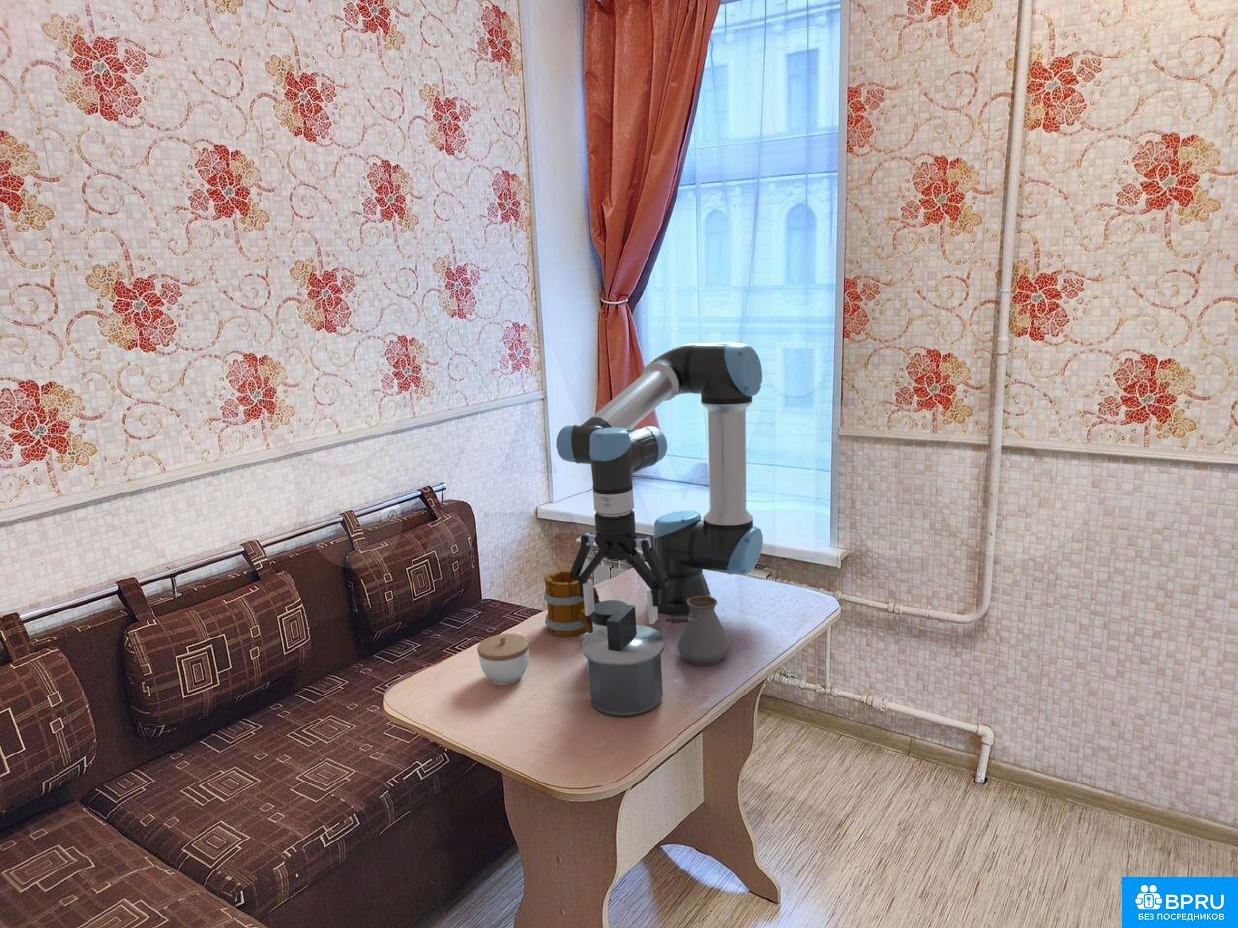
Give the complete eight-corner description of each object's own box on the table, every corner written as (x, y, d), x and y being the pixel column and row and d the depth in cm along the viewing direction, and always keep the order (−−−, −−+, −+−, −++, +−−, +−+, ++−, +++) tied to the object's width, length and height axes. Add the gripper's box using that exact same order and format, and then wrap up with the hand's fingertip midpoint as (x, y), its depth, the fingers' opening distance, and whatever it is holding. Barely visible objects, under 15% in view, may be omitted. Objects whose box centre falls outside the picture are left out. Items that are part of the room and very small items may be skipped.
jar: (606, 671, 175) (602, 618, 172) (586, 657, 182) (582, 607, 179) (640, 658, 180) (637, 607, 177) (619, 645, 187) (616, 596, 184)
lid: (603, 630, 172) (601, 593, 170) (676, 639, 165) (674, 601, 163) (568, 664, 158) (565, 624, 156) (646, 676, 151) (643, 635, 149)
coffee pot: (692, 641, 187) (690, 578, 183) (739, 651, 181) (737, 586, 177) (644, 683, 169) (640, 615, 166) (694, 695, 163) (691, 625, 160)
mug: (569, 613, 206) (564, 556, 202) (617, 630, 195) (612, 570, 191) (536, 628, 198) (531, 569, 195) (583, 647, 187) (579, 585, 184)
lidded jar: (540, 668, 178) (536, 628, 176) (518, 693, 168) (514, 650, 166) (495, 663, 182) (491, 624, 180) (471, 687, 172) (467, 646, 170)
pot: (621, 666, 177) (618, 619, 174) (676, 699, 162) (673, 648, 159) (565, 688, 169) (561, 639, 166) (618, 725, 154) (614, 671, 152)
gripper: (546, 512, 157) (555, 617, 161) (669, 521, 146) (674, 633, 151) (565, 501, 163) (573, 602, 168) (683, 509, 153) (688, 616, 158)
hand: (621, 617), depth 160 cm, fingers open, 13 cm apart
